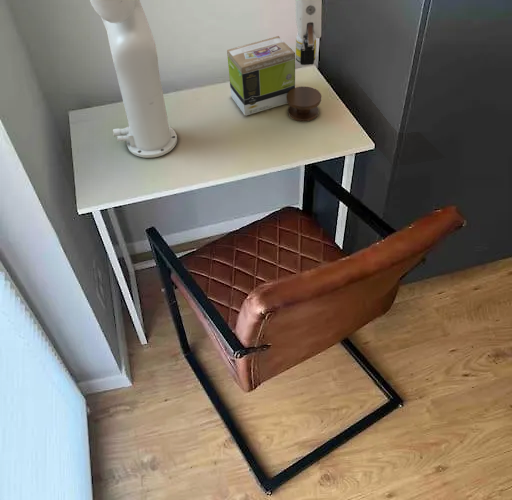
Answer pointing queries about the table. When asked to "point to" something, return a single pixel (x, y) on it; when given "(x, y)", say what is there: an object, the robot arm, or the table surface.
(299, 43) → the supplement bottle
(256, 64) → the tea box
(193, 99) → the table surface
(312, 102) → the stand
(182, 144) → the table surface
